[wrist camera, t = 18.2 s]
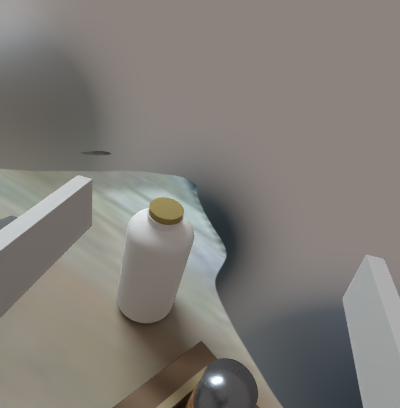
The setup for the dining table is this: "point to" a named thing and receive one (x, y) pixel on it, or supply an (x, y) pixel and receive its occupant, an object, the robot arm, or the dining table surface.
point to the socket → (172, 382)
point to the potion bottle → (154, 260)
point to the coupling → (225, 387)
